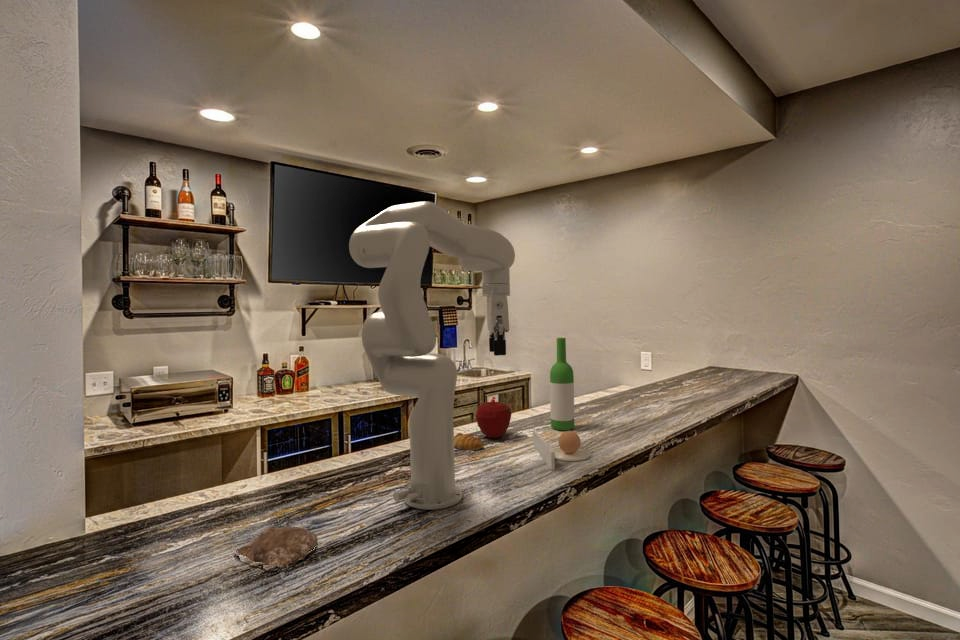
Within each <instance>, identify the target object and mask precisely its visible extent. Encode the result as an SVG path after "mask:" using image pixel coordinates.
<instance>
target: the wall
mask: <svg viewBox="0 0 960 640" xmlns="http://www.w3.org/2000/svg"><path fill="white" fill-rule="evenodd" d="M532 446H533V447H534V449H535V450H536V451H537V452H538V453H539V455H540V457H541V458H542V459H543V461H544V462H545V463H546V465H547V467H548V468H550V471H555V469H556V465H555V464H556V463H555V462H556V461H555V460H556V459H555V458H554V451H553V450H552V449H553V448H551V446H549V444H548V443H547V441H546V440H545V439H544V438H543V437H542V436H541V435H540V433H539V432H538V431H537V430H536V429H532Z"/></svg>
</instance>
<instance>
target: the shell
mask: <svg viewBox="0 0 960 640" xmlns="http://www.w3.org/2000/svg"><path fill="white" fill-rule="evenodd" d="M318 542H319V539H318V537H317V535H316V534H315V533H314V532H312V531H310V530H309V529H306V528H302V527H298V526H297V527H296V526H284V527H267V528H266V529H264V530H263V531H262V532H261V533H260V534H259V535H258V537H257V538H255V539H254V540H252V541H250V542H249V544H246V545H244V546H241V547H239V548H240V549H239V548H236V549H237V551H238V553H239V554H241V555H243V556H246V557H248V558H249V559H250V560H252V561H255V562H262V563H265V564H267V565H274V566H278V567H279V566H280V567H281V566H283V565H287V564H289V563H292V562H294V561H296V560H298V559H300V558H302V557H304V556H305V555H306V554H307V553H308V552H309V551H311V550H313V549H314V547H315V546H316V545H317V546H318ZM237 551H236V552H237Z"/></svg>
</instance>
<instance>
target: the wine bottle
mask: <svg viewBox="0 0 960 640" xmlns="http://www.w3.org/2000/svg"><path fill="white" fill-rule="evenodd" d="M566 341H567V339H566V337H556V362H555V363H554V364H553V365H552V366H551V368H550V372H549V389H550V390H549V397H550V398H549V401H550V402H549V403H550V405H549V406H550V426H551V428H552V429H553V430H555V431H561V430H563V432H565V430H566V431H572V430H573V429H574V427H575V385H574V383H575V379H574V370H573V367H572V366H571V364H569V363H568V362H567V347H566V345H567V344H566V343H567V342H566Z"/></svg>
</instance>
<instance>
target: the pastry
mask: <svg viewBox="0 0 960 640" xmlns="http://www.w3.org/2000/svg"><path fill="white" fill-rule="evenodd" d="M454 447H455V448H454V449H456V448H457V449H458V450H464V451H470V450H471V451H478V450H480V449H482V448H483V447H484V442H483V441H482V440H481V439H480V438H478V437H476V436H474V435H473V434H469V433H461V432H457V433H456V434H454Z"/></svg>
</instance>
